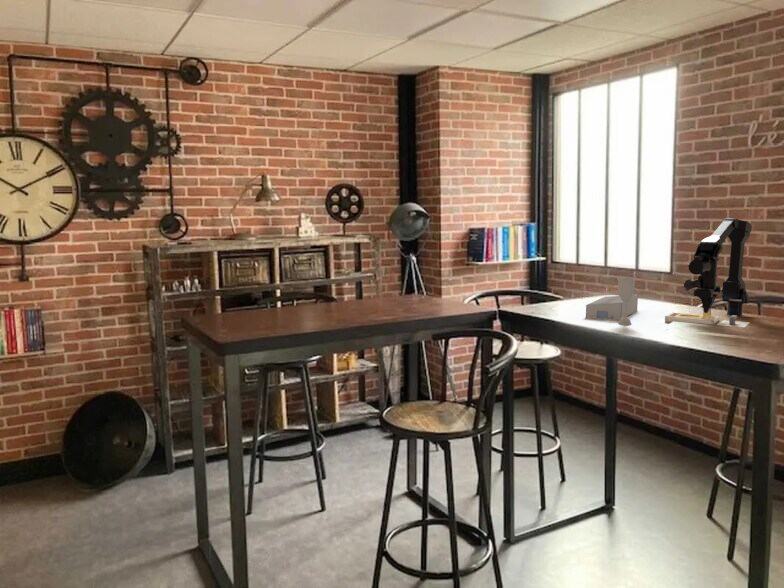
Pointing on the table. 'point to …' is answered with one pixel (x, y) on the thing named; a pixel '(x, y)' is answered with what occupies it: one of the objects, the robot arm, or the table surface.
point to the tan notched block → (705, 315)
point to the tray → (690, 319)
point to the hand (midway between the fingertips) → (706, 312)
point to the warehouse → (611, 308)
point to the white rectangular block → (733, 322)
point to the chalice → (626, 296)
